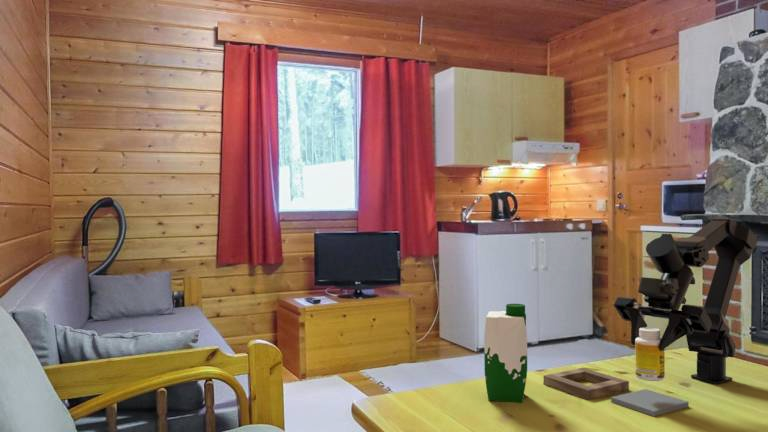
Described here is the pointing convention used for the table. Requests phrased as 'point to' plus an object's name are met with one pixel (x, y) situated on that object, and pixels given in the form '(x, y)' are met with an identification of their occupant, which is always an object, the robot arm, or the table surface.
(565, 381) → the walnut holder
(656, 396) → the slate mat
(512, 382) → the milk carton
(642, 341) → the supplement bottle
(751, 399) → the table surface
